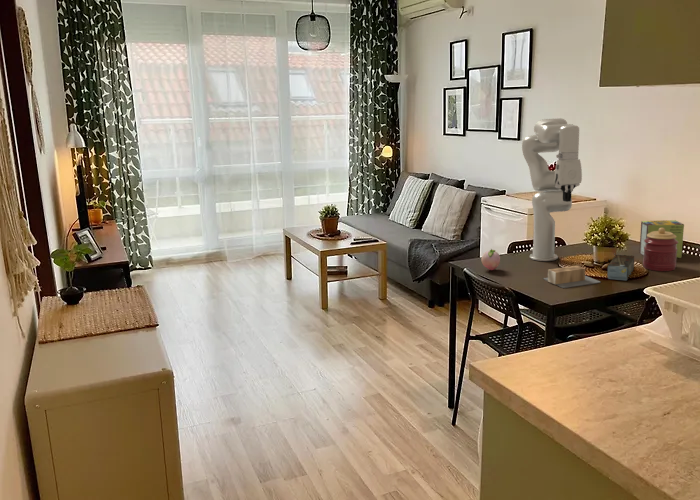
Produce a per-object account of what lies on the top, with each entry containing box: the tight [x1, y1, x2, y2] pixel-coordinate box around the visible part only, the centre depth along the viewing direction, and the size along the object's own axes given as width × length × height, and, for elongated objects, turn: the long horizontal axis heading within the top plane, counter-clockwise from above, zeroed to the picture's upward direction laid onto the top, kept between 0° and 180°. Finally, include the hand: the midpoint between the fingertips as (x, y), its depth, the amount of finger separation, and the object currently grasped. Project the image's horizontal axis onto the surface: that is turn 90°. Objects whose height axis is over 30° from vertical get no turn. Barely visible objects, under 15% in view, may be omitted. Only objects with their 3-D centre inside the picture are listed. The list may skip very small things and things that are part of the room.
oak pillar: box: [547, 265, 586, 285], centre depth 241 cm, size 5×5×14 cm
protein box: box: [638, 219, 685, 259], centre depth 272 cm, size 10×15×16 cm
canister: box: [642, 228, 678, 272], centre depth 252 cm, size 13×13×18 cm
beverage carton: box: [606, 254, 635, 282], centre depth 248 cm, size 8×19×7 cm, turn 147°
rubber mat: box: [542, 275, 601, 289], centre depth 243 cm, size 14×18×1 cm
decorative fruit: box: [480, 248, 501, 271], centre depth 263 cm, size 9×8×10 cm
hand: (566, 201), depth 243 cm, fingers closed
